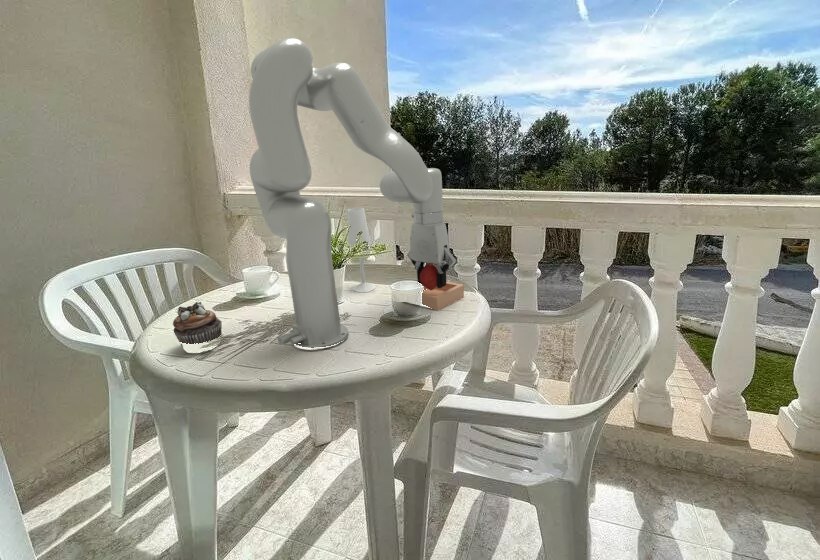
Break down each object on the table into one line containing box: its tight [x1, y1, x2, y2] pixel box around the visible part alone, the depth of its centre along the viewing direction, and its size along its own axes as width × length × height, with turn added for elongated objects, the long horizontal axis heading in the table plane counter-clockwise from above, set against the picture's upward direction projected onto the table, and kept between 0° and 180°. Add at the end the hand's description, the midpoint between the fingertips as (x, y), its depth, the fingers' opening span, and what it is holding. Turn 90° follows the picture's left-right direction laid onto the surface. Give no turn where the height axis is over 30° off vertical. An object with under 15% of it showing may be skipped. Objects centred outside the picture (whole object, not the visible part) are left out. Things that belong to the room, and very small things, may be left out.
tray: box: [422, 281, 465, 312], centre depth 114 cm, size 12×12×3 cm
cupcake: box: [172, 301, 223, 344], centre depth 94 cm, size 10×10×10 cm
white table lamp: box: [347, 207, 376, 293], centre depth 124 cm, size 7×7×24 cm
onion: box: [420, 263, 438, 290], centre depth 112 cm, size 6×6×8 cm
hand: (431, 284), depth 113 cm, fingers closed on onion, 5 cm apart
